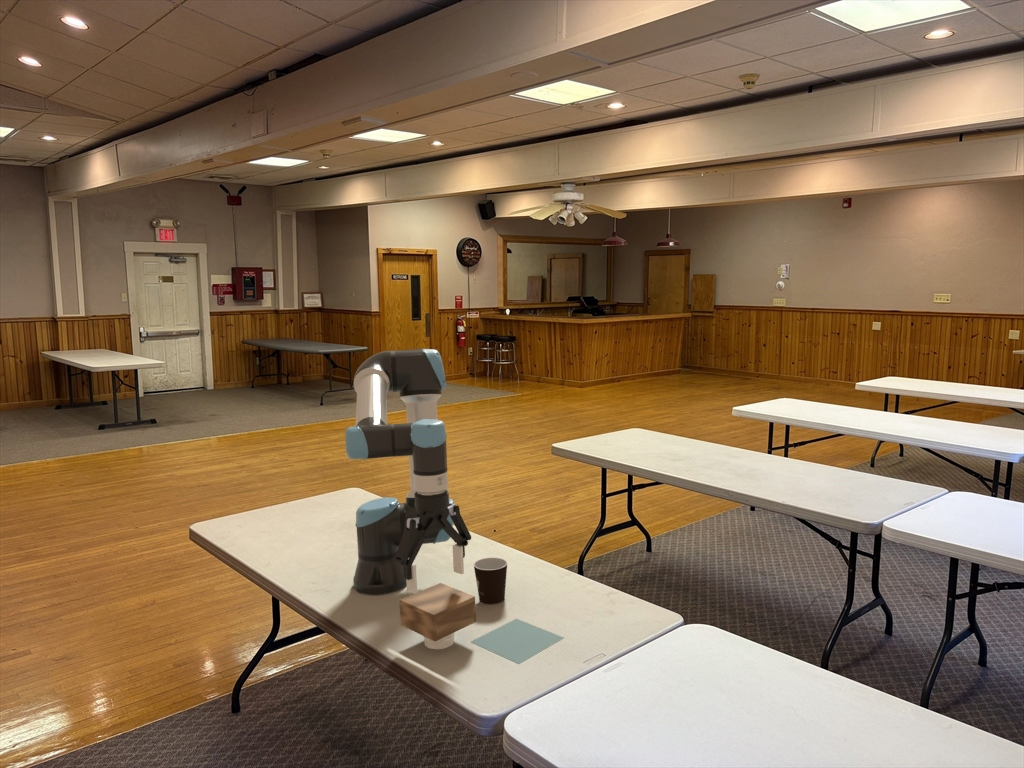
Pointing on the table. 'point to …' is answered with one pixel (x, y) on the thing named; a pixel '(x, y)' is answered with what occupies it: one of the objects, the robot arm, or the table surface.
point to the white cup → (439, 642)
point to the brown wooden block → (437, 611)
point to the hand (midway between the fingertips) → (436, 582)
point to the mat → (517, 640)
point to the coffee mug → (491, 579)
